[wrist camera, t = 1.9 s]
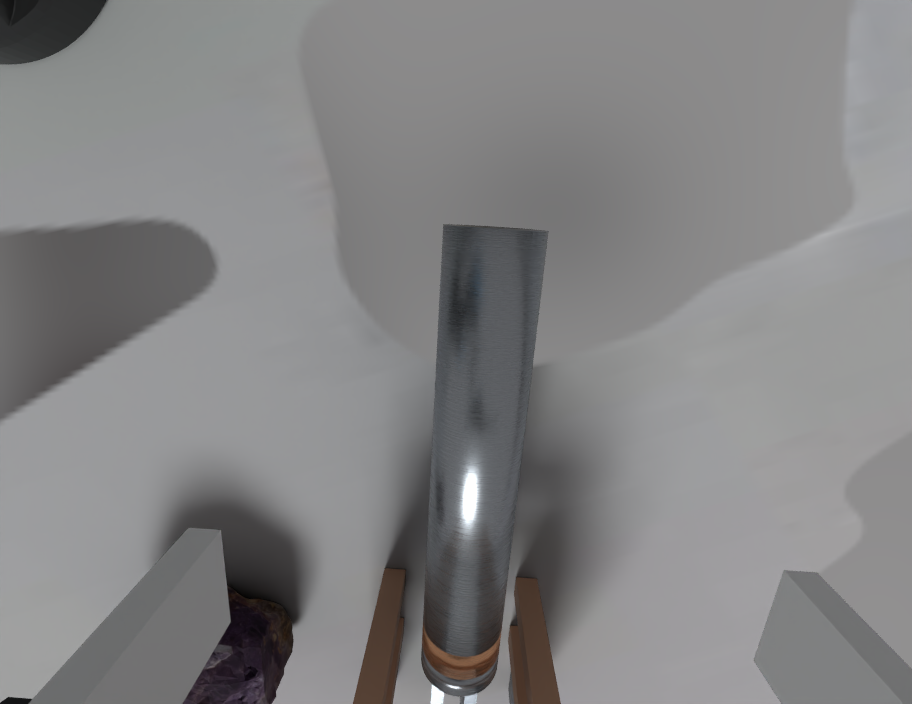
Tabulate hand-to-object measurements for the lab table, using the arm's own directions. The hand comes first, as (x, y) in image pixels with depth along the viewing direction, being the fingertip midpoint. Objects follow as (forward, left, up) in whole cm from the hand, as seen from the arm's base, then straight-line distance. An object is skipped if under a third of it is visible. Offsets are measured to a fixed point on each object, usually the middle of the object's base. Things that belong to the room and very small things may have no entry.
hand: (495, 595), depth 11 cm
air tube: (+4, 0, -13) cm, 14 cm away
